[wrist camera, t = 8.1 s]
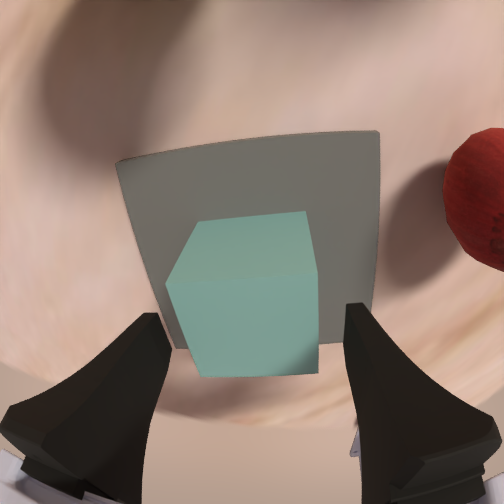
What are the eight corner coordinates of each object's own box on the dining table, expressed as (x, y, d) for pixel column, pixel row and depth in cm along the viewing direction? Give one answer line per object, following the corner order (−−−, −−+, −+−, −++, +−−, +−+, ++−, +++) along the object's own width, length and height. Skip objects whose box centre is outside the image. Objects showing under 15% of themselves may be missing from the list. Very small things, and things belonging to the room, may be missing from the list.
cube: (310, 299, 16) (318, 373, 12) (218, 305, 17) (200, 376, 13) (305, 211, 14) (317, 273, 10) (197, 221, 15) (165, 283, 10)
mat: (364, 333, 18) (366, 339, 18) (178, 342, 20) (175, 348, 19) (375, 130, 12) (379, 132, 12) (120, 160, 14) (115, 163, 13)
